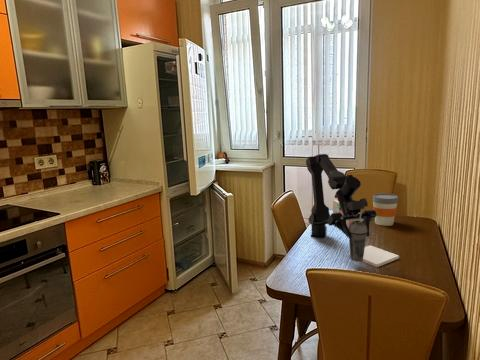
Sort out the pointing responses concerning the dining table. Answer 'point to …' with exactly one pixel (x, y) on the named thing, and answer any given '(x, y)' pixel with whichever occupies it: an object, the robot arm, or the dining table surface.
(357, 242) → the beverage cup
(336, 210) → the patterned box
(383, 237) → the dining table surface
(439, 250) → the dining table surface
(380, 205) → the reusable coffee cup
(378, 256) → the board
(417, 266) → the dining table surface
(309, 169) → the robot arm
